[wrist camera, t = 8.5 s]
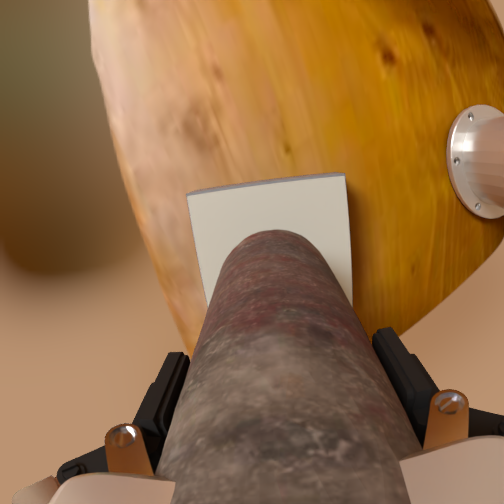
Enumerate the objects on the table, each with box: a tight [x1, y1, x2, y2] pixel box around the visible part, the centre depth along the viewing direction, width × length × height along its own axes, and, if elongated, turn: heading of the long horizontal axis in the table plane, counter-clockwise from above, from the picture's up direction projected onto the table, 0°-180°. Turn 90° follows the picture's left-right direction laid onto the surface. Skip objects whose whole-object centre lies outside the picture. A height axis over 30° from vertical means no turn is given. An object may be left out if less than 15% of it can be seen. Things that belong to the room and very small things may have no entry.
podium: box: [186, 172, 353, 308], centre depth 27 cm, size 13×13×4 cm
